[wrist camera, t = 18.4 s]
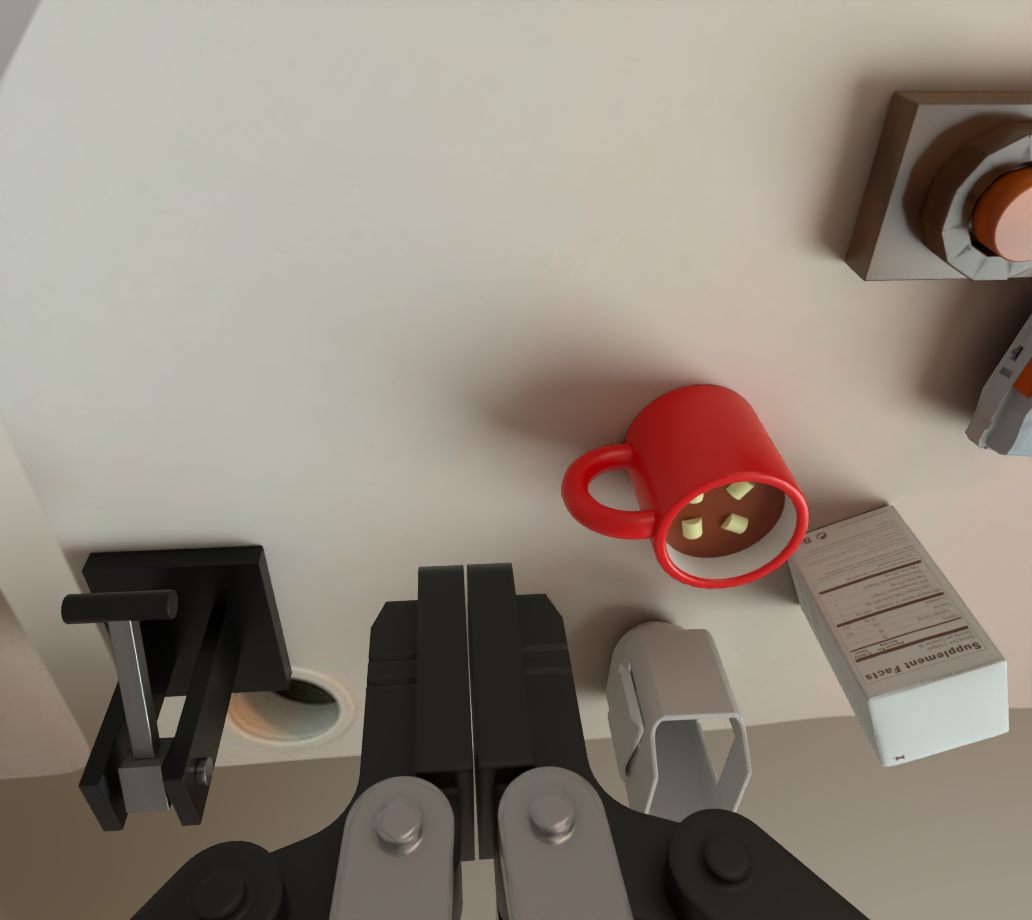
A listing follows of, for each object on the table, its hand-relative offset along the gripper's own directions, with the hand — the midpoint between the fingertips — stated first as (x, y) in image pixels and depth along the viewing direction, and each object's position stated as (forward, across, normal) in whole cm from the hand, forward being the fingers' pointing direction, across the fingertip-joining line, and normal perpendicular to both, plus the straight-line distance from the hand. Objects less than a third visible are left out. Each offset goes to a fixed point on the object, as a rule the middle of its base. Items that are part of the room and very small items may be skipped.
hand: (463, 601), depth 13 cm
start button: (+23, -25, +2) cm, 34 cm away
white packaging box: (+27, -26, +27) cm, 46 cm away
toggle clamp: (+27, +16, +29) cm, 43 cm away
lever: (+19, +16, +25) cm, 36 cm away
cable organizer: (+27, -14, +34) cm, 46 cm away
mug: (+27, -12, +17) cm, 34 cm away
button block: (+27, -25, +2) cm, 37 cm away
